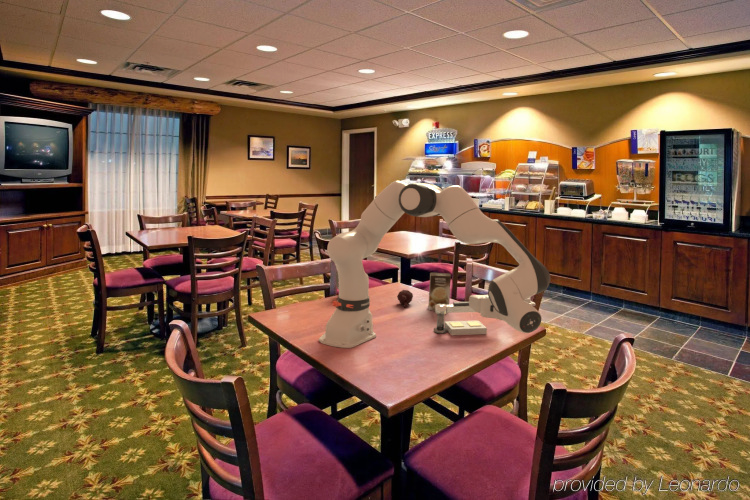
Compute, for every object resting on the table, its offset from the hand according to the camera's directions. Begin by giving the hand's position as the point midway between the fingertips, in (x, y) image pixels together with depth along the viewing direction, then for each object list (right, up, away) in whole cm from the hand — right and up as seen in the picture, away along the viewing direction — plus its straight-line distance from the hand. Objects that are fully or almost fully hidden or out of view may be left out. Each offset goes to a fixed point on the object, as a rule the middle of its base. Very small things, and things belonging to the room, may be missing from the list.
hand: (491, 295), depth 157 cm
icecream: (-27, -9, +51) cm, 59 cm away
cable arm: (-7, -8, +15) cm, 18 cm away
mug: (-55, -7, +65) cm, 85 cm away
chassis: (-6, -15, +16) cm, 23 cm away
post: (-16, -15, +15) cm, 27 cm away
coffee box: (-12, -11, +44) cm, 47 cm away
